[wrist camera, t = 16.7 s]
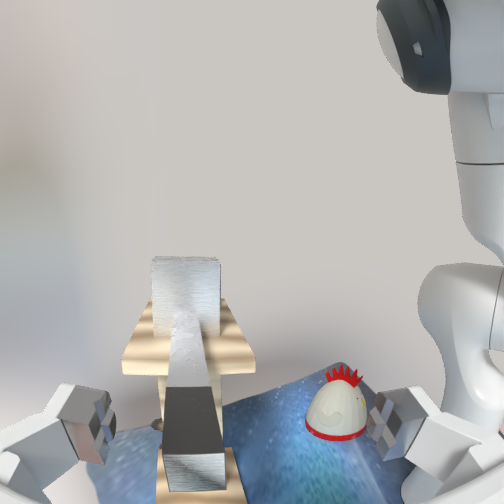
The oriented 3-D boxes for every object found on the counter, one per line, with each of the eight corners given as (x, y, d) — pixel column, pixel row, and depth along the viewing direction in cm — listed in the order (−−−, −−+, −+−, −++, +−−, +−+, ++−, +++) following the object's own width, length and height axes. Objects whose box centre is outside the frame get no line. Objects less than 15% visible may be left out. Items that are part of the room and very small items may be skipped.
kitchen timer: (352, 448, 51) (365, 387, 50) (294, 429, 59) (299, 371, 58) (372, 416, 62) (384, 360, 61) (321, 403, 70) (328, 349, 69)
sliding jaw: (274, 484, 11) (286, 328, 11) (122, 489, 10) (85, 329, 9) (215, 323, 37) (215, 256, 37) (157, 323, 36) (155, 256, 35)
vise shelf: (256, 537, 30) (269, 292, 27) (157, 541, 27) (104, 292, 24) (230, 446, 53) (230, 261, 50) (159, 448, 50) (143, 261, 47)
